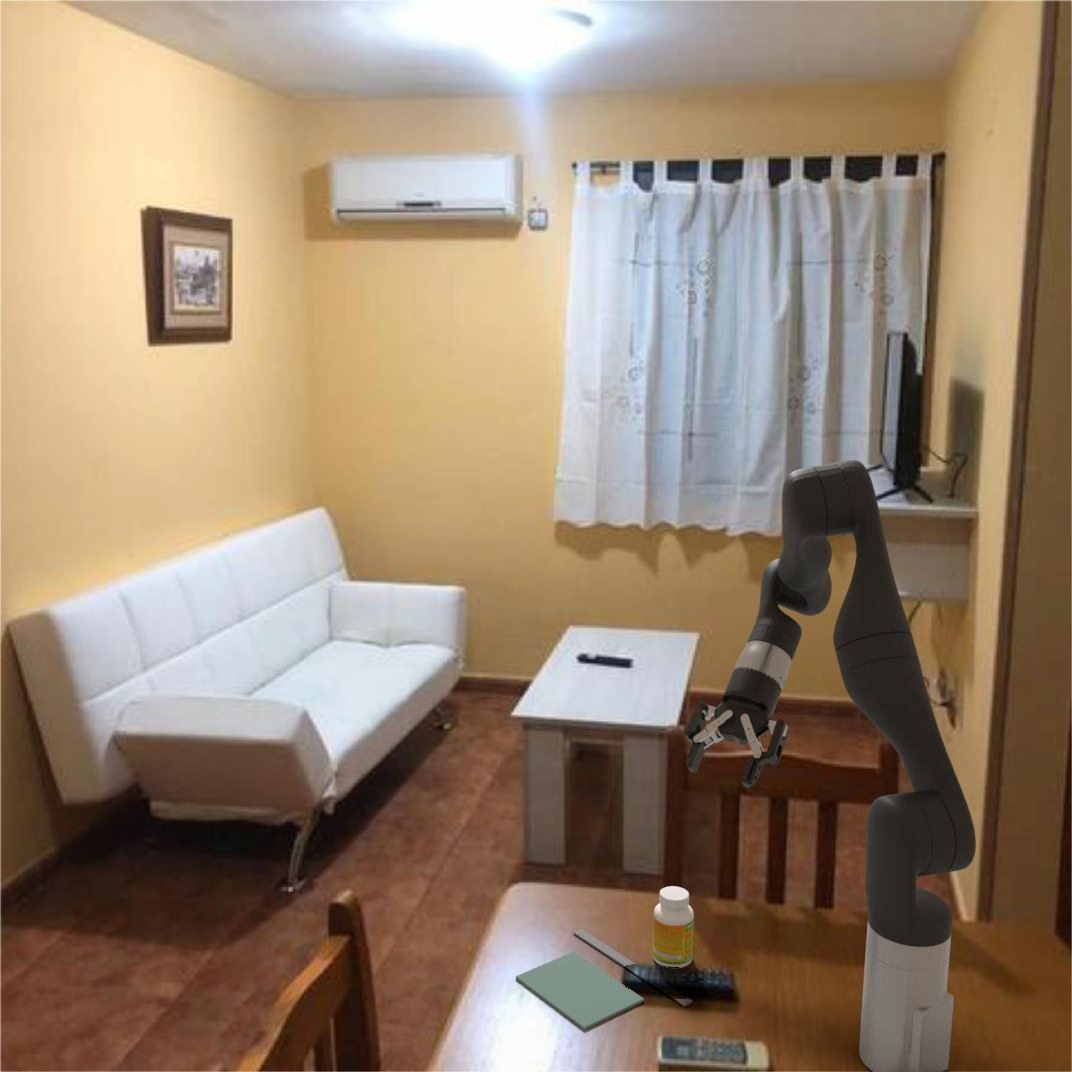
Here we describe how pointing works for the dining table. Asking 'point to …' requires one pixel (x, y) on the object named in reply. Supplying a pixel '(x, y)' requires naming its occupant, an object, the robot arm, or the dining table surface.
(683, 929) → the supplement bottle
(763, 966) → the dining table surface
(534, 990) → the mat
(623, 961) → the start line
